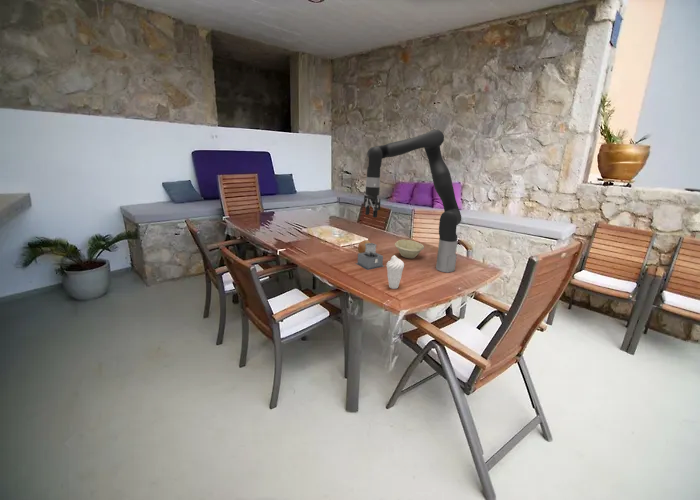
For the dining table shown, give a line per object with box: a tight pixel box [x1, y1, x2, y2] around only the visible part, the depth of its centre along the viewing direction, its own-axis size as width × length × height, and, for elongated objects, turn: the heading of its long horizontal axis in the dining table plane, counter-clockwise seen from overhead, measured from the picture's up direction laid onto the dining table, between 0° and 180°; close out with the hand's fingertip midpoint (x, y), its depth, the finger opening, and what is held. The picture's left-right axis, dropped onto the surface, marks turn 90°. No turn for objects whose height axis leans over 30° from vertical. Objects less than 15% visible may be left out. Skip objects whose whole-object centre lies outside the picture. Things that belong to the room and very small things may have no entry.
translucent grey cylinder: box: [365, 242, 377, 257], centre depth 177 cm, size 5×5×12 cm
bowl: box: [394, 239, 425, 259], centre depth 196 cm, size 14×18×15 cm
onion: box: [357, 239, 372, 253], centre depth 196 cm, size 10×10×10 cm
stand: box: [355, 252, 385, 271], centre depth 178 cm, size 12×12×8 cm
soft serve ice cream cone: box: [386, 255, 405, 290], centre depth 150 cm, size 8×8×16 cm
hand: (371, 215), depth 175 cm, fingers open, 8 cm apart
